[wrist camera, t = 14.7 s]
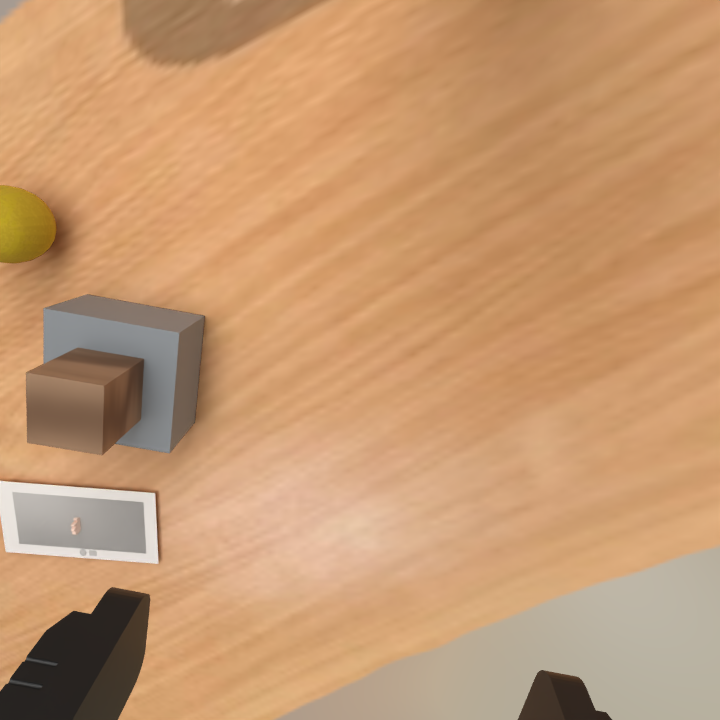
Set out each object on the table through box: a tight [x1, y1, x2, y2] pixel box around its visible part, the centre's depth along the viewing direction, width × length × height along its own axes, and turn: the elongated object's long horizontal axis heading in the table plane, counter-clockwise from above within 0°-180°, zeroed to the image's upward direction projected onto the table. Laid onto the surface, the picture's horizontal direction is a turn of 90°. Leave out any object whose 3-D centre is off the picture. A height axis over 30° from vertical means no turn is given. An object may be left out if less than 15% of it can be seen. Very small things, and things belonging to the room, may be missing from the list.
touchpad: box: [0, 481, 159, 564], centre depth 50 cm, size 8×15×2 cm, turn 86°
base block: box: [44, 294, 205, 453], centre depth 42 cm, size 10×10×6 cm
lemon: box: [0, 185, 56, 263], centre depth 38 cm, size 6×6×8 cm
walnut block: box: [26, 347, 144, 455], centre depth 37 cm, size 5×5×6 cm
